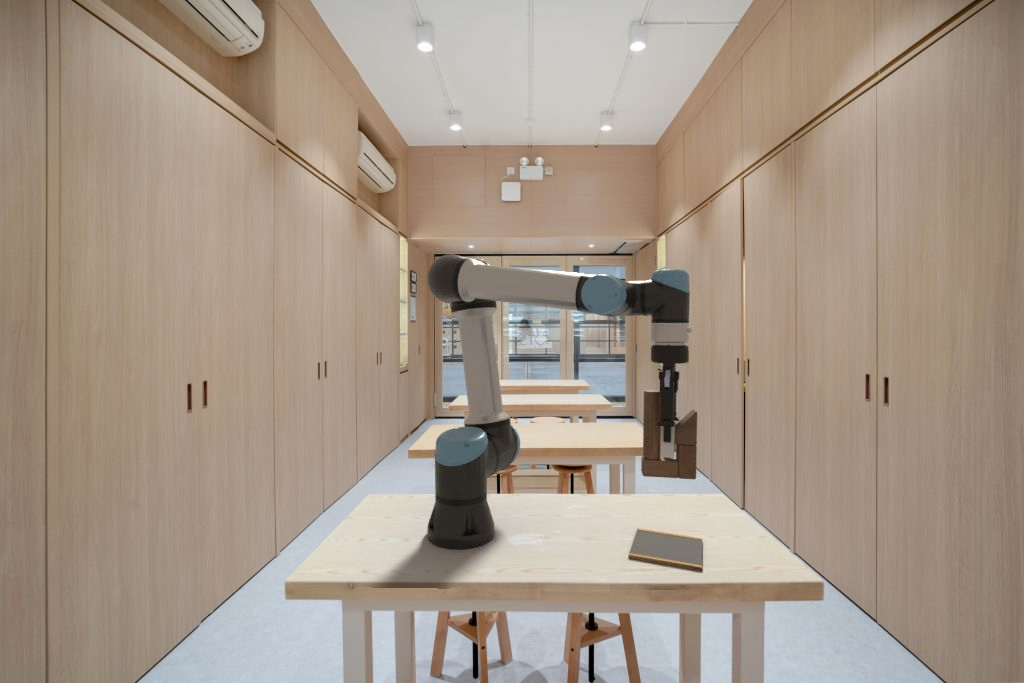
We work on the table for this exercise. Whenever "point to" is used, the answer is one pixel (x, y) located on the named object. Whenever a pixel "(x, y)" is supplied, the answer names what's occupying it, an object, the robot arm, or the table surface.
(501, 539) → the table surface
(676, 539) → the mat
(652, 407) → the wooden block assembly
